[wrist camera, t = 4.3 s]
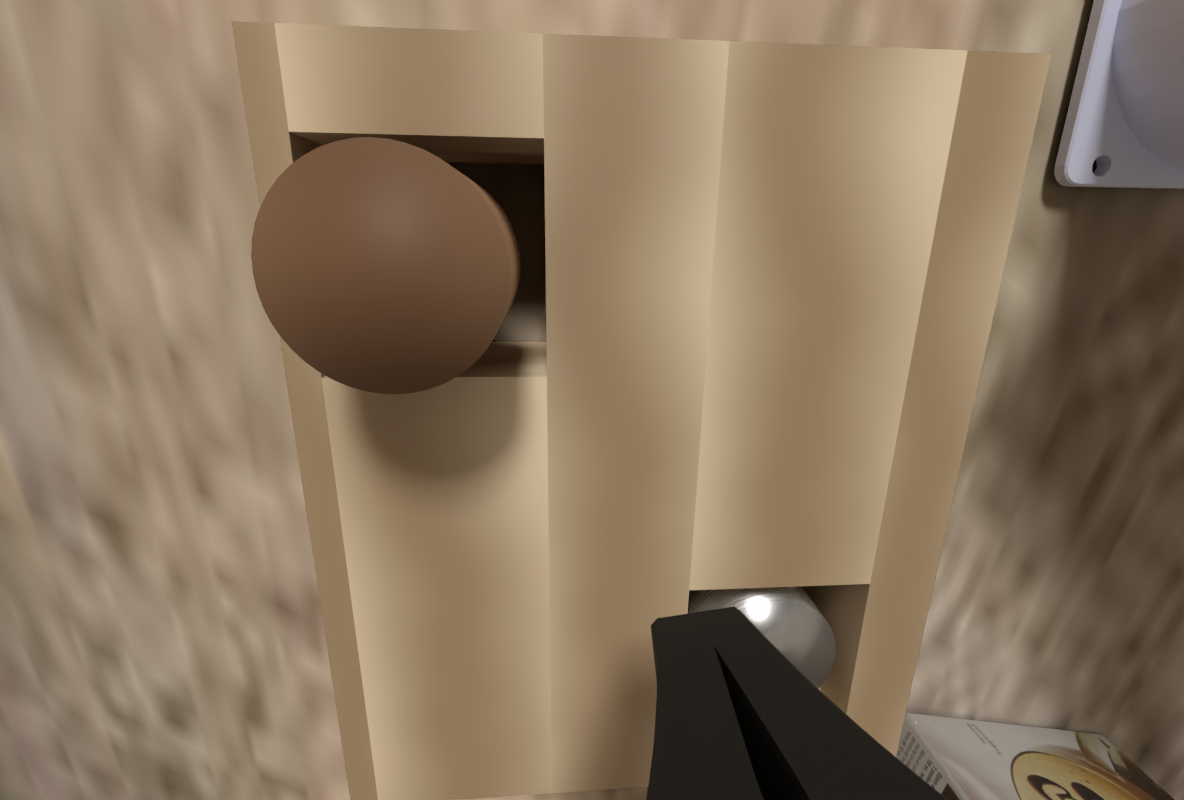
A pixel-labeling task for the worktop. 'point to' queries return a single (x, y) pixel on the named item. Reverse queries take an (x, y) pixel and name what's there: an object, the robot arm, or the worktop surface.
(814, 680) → the steel peg
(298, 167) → the walnut peg
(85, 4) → the worktop surface
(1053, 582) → the worktop surface
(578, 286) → the maple board
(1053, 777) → the coffee box
